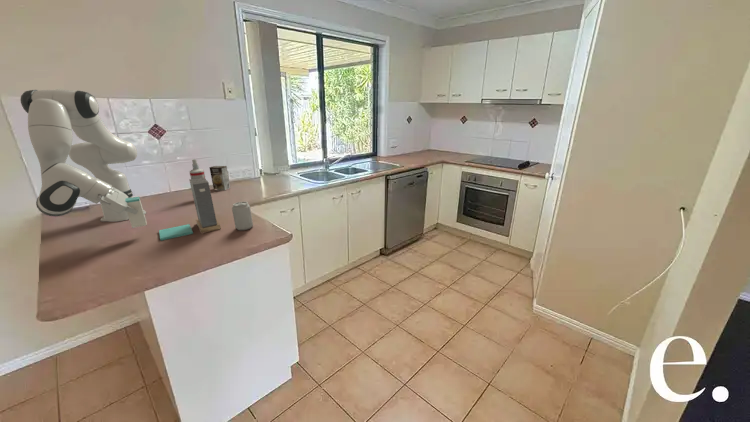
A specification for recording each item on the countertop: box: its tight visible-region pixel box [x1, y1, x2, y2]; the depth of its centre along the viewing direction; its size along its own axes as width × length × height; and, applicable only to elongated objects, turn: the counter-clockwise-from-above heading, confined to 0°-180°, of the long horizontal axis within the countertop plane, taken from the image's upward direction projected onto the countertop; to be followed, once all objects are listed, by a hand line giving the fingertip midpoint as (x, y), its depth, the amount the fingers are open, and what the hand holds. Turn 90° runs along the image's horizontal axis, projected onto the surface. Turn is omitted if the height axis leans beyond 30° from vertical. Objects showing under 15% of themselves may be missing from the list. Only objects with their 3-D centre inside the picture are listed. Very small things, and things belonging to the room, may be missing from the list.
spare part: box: [125, 196, 148, 229], centre depth 128 cm, size 5×5×12 cm
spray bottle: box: [188, 158, 206, 179], centre depth 182 cm, size 8×8×25 cm
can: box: [231, 201, 254, 231], centre depth 137 cm, size 8×8×12 cm
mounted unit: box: [189, 177, 222, 234], centre depth 138 cm, size 15×8×22 cm, turn 36°
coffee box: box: [209, 165, 231, 191], centre depth 208 cm, size 9×6×16 cm
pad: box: [158, 223, 194, 241], centre depth 135 cm, size 12×12×1 cm
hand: (137, 210), depth 128 cm, fingers closed on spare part, 5 cm apart
